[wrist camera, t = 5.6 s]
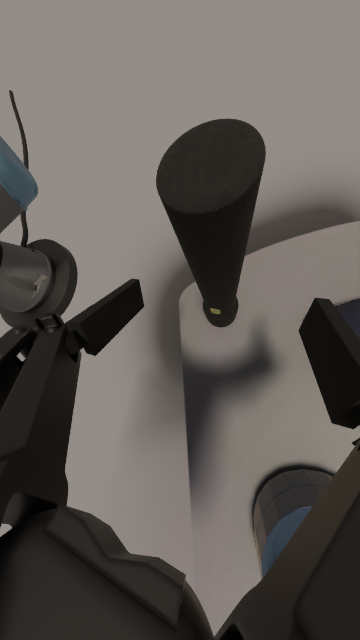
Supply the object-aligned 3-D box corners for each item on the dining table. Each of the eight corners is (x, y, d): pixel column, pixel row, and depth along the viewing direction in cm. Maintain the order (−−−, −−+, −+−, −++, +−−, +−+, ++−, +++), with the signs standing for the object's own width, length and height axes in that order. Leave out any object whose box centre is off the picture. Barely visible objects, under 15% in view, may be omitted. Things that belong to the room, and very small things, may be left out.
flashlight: (210, 296, 29) (203, 323, 29) (160, 106, 6) (119, 222, 6) (239, 302, 28) (231, 330, 27) (310, 82, 5) (270, 235, 4)
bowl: (235, 475, 24) (238, 515, 18) (351, 455, 21) (399, 495, 15) (282, 618, 20) (306, 726, 14) (432, 618, 17) (536, 752, 11)
